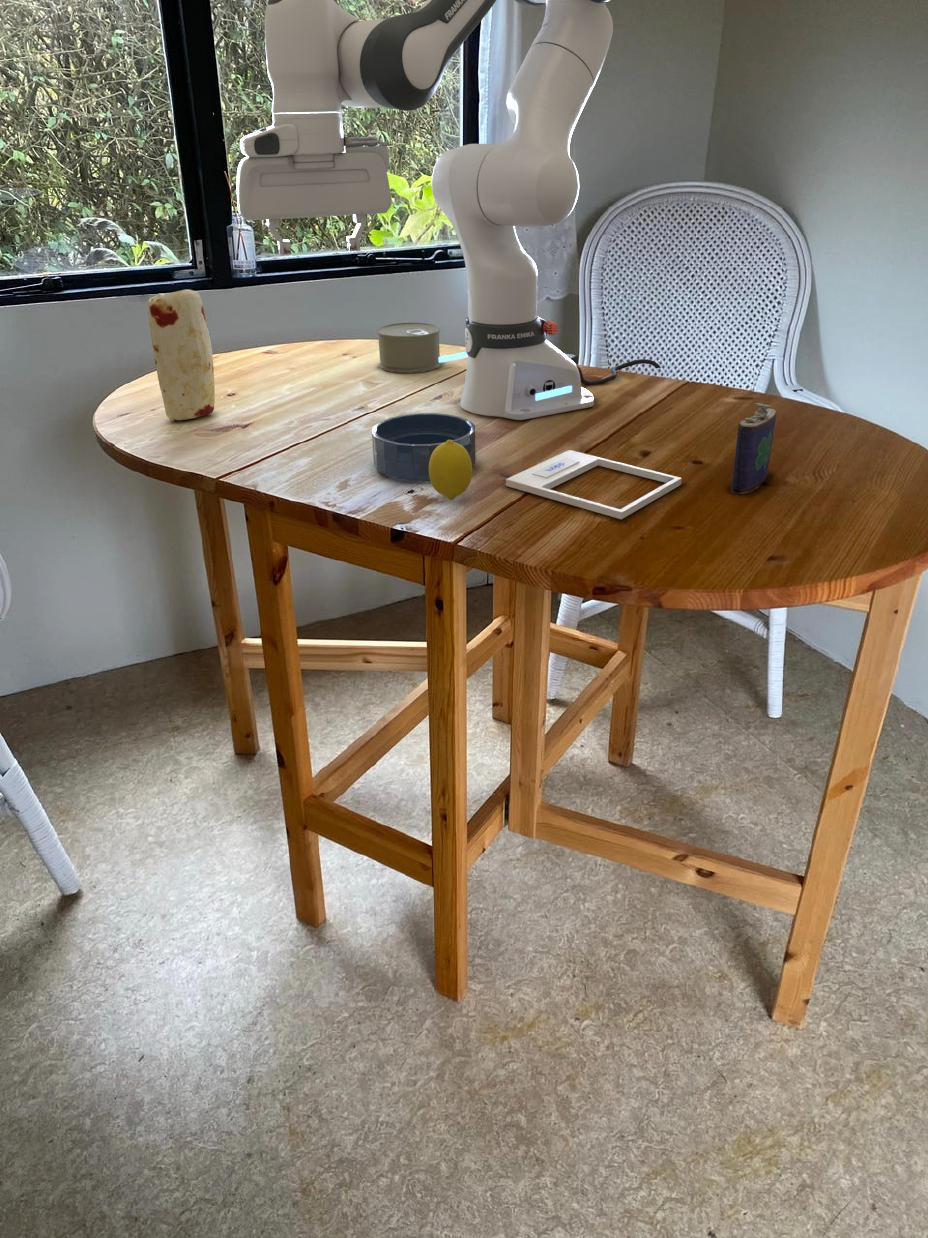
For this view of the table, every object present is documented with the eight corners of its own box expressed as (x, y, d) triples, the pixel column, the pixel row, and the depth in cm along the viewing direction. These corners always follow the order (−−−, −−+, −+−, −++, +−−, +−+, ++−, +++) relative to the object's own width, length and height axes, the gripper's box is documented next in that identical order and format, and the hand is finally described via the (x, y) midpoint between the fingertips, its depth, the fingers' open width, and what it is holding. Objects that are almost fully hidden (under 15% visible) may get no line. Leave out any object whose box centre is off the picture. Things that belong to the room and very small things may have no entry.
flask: (752, 470, 126) (764, 392, 120) (773, 474, 124) (786, 396, 119) (726, 491, 119) (737, 410, 114) (748, 496, 118) (760, 414, 113)
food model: (178, 427, 147) (155, 297, 137) (156, 419, 151) (132, 292, 141) (229, 413, 153) (211, 287, 143) (206, 406, 157) (187, 283, 147)
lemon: (468, 509, 116) (467, 448, 112) (425, 506, 117) (422, 446, 113) (476, 492, 121) (475, 433, 117) (435, 490, 122) (433, 431, 118)
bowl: (458, 444, 137) (457, 408, 135) (489, 477, 125) (488, 438, 123) (365, 456, 134) (362, 419, 131) (387, 490, 122) (385, 450, 119)
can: (416, 354, 186) (414, 319, 182) (453, 365, 178) (452, 329, 174) (367, 365, 179) (364, 328, 176) (403, 376, 171) (401, 339, 168)
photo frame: (569, 448, 131) (681, 476, 121) (569, 455, 132) (681, 484, 121) (505, 477, 122) (621, 510, 111) (505, 485, 122) (621, 519, 112)
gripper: (382, 135, 124) (388, 245, 130) (228, 139, 119) (242, 254, 125) (393, 136, 118) (399, 250, 125) (232, 141, 113) (247, 260, 120)
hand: (319, 252), depth 125 cm, fingers open, 8 cm apart
